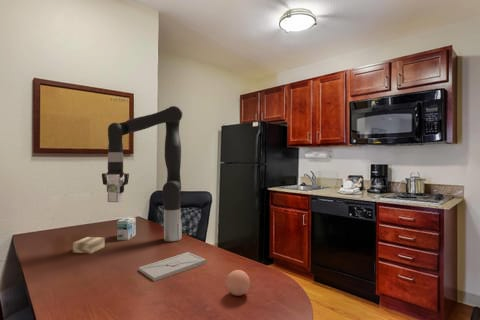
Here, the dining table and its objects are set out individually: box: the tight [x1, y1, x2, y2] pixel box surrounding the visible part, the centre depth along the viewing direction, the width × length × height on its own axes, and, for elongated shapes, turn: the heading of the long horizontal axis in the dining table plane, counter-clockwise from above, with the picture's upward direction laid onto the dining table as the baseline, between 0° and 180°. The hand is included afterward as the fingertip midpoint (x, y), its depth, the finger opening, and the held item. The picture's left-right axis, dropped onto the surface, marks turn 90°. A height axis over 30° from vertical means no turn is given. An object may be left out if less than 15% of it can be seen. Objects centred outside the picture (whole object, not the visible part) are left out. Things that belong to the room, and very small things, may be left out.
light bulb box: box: [116, 216, 137, 241], centre depth 158 cm, size 11×7×11 cm, turn 179°
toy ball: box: [225, 269, 251, 297], centre depth 91 cm, size 8×8×8 cm
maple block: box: [72, 236, 106, 254], centre depth 138 cm, size 10×10×5 cm
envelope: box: [138, 251, 207, 282], centre depth 115 cm, size 24×2×14 cm
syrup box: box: [107, 174, 124, 203], centre depth 143 cm, size 6×6×14 cm
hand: (115, 192), depth 143 cm, fingers closed on syrup box, 6 cm apart
